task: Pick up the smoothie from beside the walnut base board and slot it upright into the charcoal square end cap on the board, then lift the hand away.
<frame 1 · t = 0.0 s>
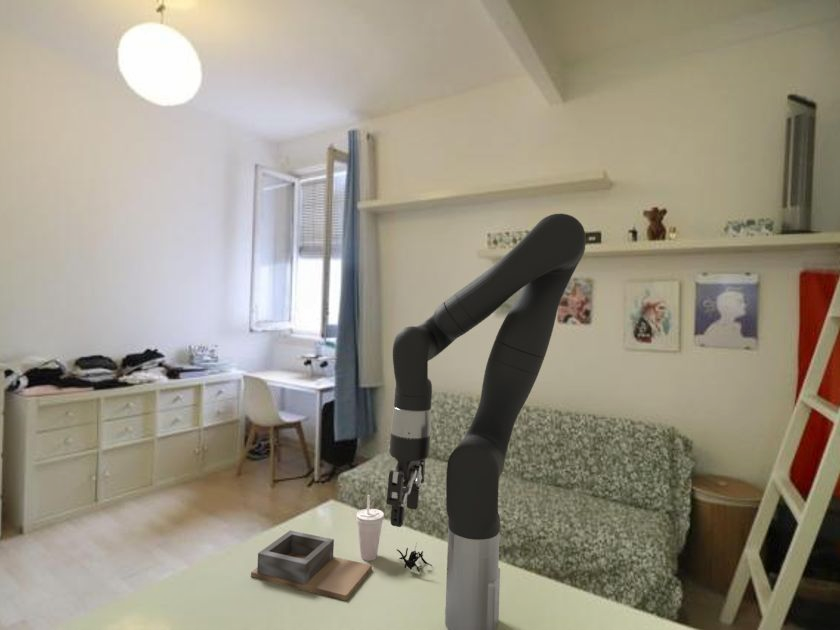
hand: (404, 516, 88), 17 cm above the table, tool pointing down, fingers open, 8 cm apart
smoothie: (368, 557, 106), on the table
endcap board: (312, 573, 98), on the table
creature: (414, 567, 103), on the table
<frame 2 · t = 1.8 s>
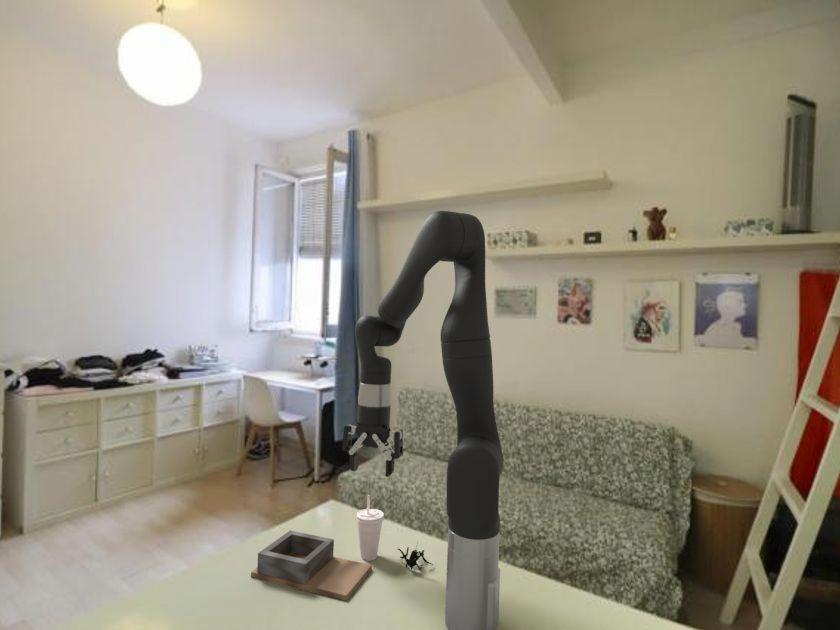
hand: (371, 473, 106), 19 cm above the table, tool pointing down, fingers open, 8 cm apart
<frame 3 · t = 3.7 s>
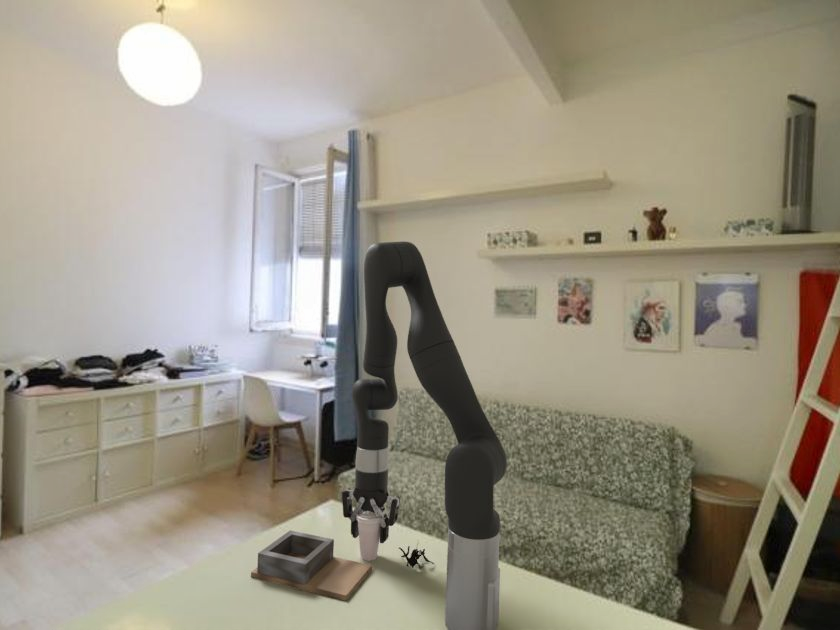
hand: (369, 538, 106), 4 cm above the table, tool pointing down, fingers closed on smoothie, 6 cm apart
smoothie: (368, 557, 106), on the table, touching gripper
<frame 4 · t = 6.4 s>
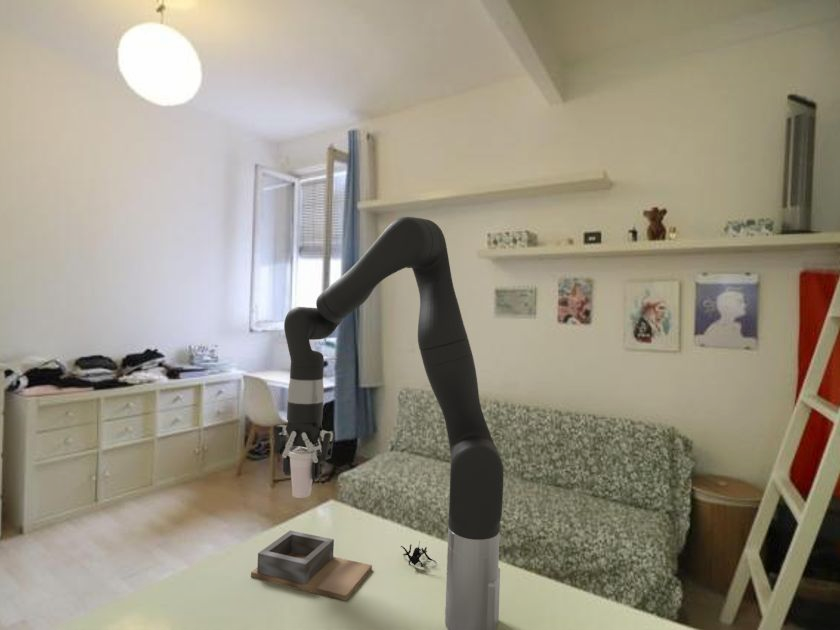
hand: (302, 476, 100), 20 cm above the table, tool pointing down, fingers closed on smoothie, 6 cm apart
smoothie: (301, 495, 100), point 16 cm above the table, touching gripper
when the fingers open (6 cm above the table, at t = 9.4 s): smoothie drops 1 cm, resting on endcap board.
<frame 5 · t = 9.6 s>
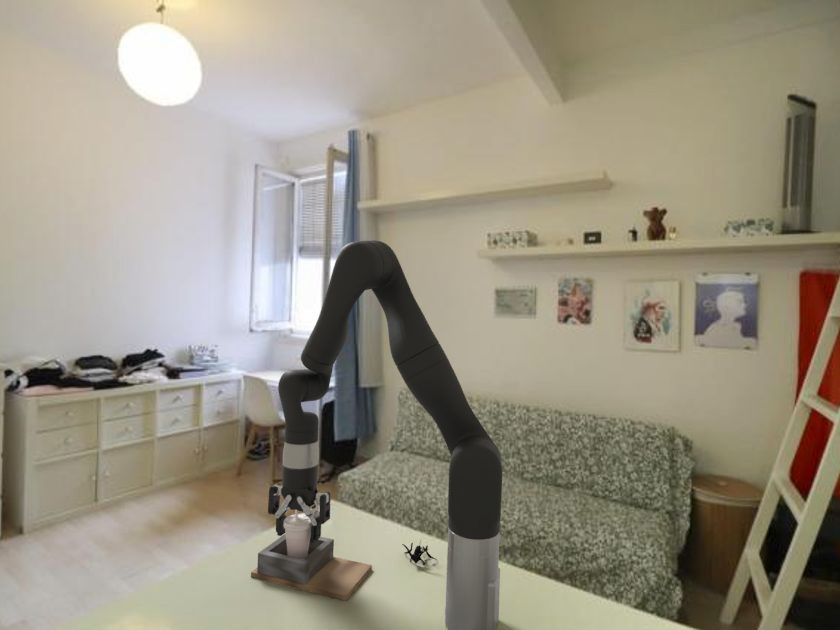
hand: (297, 537, 100), 7 cm above the table, tool pointing down, fingers open, 8 cm apart
smoothie: (297, 565, 99), point 1 cm above the table, touching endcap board
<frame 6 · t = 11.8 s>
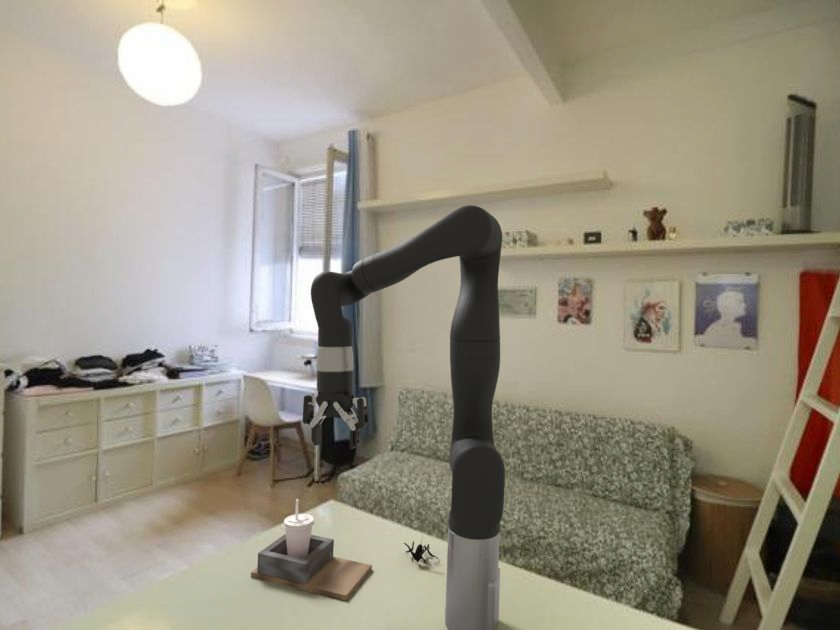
hand: (335, 446, 96), 28 cm above the table, tool pointing down, fingers open, 8 cm apart
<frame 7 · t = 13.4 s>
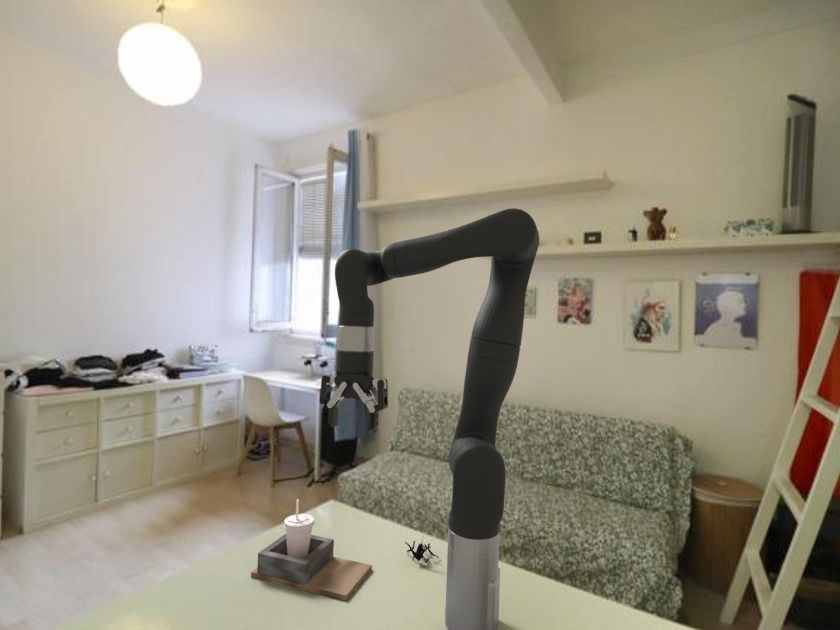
hand: (352, 428, 94), 32 cm above the table, tool pointing down, fingers open, 8 cm apart
at the end: smoothie 0.2 cm from the target spot on the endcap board, point 0.8 cm above the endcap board's base; smoothie tilted 0°; the gripper is holding nothing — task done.
